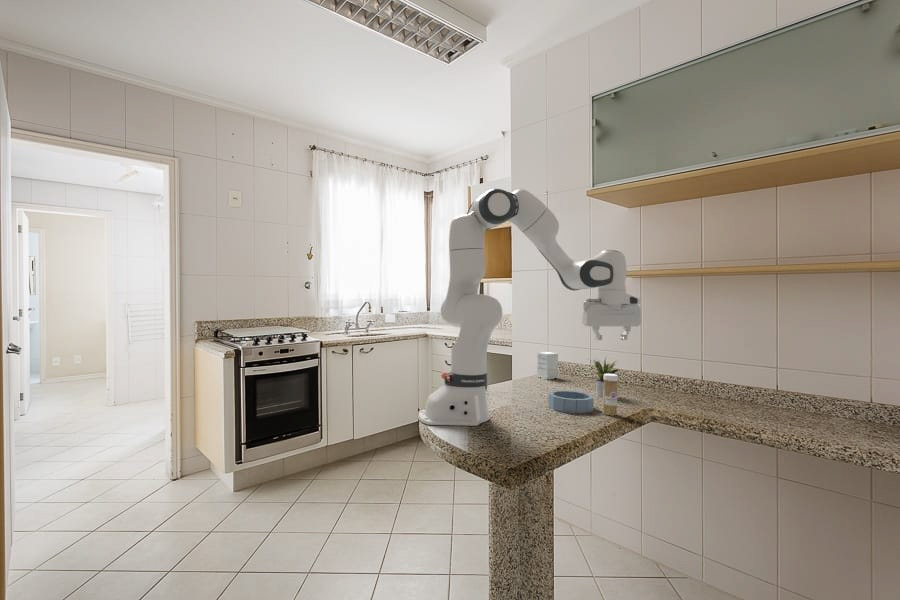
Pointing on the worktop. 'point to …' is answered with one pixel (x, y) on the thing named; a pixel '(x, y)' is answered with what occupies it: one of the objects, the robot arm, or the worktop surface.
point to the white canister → (547, 365)
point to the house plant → (601, 374)
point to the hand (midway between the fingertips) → (611, 340)
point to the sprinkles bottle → (610, 394)
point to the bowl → (571, 401)
